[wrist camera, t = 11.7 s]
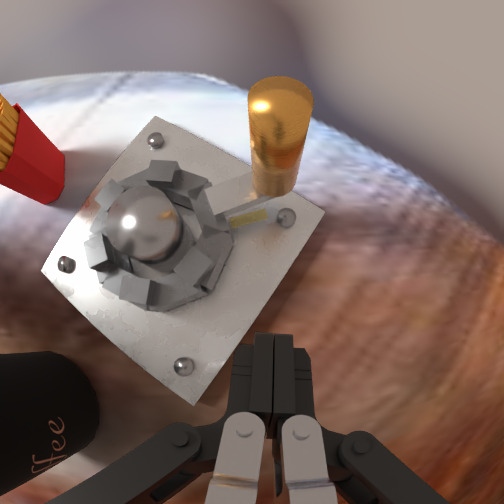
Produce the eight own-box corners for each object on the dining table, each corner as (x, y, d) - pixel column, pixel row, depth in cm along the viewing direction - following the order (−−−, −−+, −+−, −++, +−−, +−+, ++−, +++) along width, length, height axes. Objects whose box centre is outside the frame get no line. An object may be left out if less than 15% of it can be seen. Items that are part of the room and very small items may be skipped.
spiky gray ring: (127, 325, 25) (24, 322, 12) (96, 211, 27) (10, 145, 14) (316, 250, 25) (366, 183, 13) (264, 142, 28) (265, 31, 15)
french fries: (40, 154, 31) (-21, 100, 18) (66, 141, 31) (8, 79, 18) (38, 219, 29) (-40, 174, 16) (65, 207, 29) (-11, 153, 16)
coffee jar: (66, 460, 23) (-44, 519, 5) (14, 380, 25) (-108, 392, 7) (124, 419, 24) (-5, 495, 7) (63, 330, 26) (-85, 320, 9)
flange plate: (197, 401, 25) (172, 430, 17) (49, 273, 28) (-1, 257, 20) (322, 217, 28) (343, 179, 20) (159, 123, 31) (136, 75, 23)
